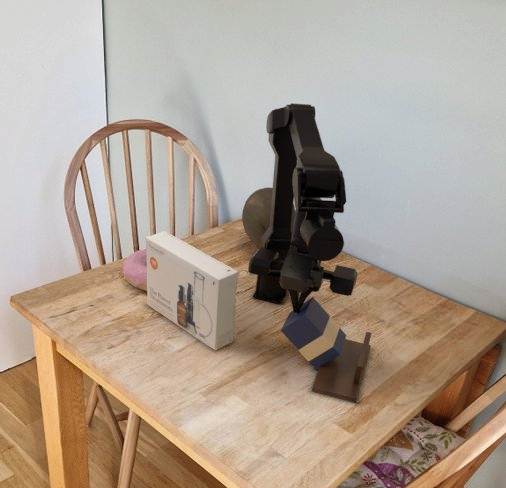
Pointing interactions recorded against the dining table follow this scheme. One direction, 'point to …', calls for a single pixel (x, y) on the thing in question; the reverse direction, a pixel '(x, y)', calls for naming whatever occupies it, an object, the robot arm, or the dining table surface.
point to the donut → (136, 269)
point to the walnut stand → (344, 371)
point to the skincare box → (191, 289)
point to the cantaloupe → (259, 214)
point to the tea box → (314, 333)
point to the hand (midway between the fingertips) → (296, 312)
